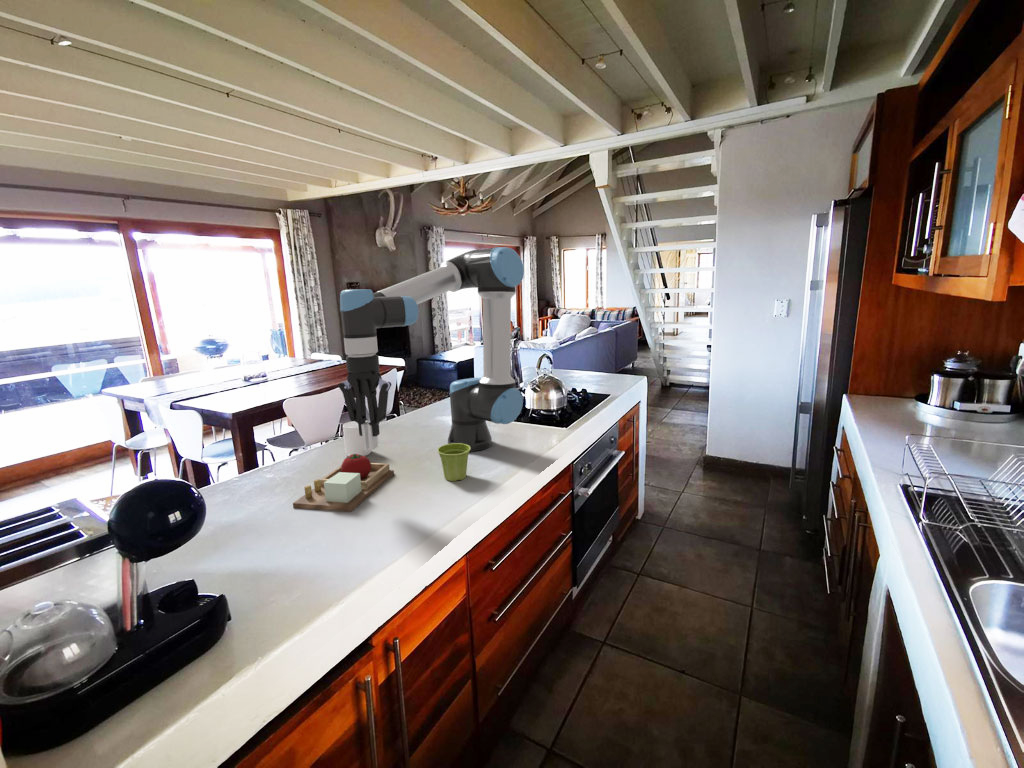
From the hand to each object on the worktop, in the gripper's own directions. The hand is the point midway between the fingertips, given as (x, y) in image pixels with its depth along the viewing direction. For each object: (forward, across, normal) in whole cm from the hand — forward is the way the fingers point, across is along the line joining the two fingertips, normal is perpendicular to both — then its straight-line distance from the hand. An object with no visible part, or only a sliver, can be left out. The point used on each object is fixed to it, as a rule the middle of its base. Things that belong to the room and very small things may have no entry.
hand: (370, 448), depth 117 cm
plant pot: (+15, -16, -18) cm, 28 cm away
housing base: (+14, +12, -6) cm, 19 cm away
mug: (+15, +22, -33) cm, 42 cm away
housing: (+13, +9, 0) cm, 16 cm away
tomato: (+13, +12, -11) cm, 21 cm away
